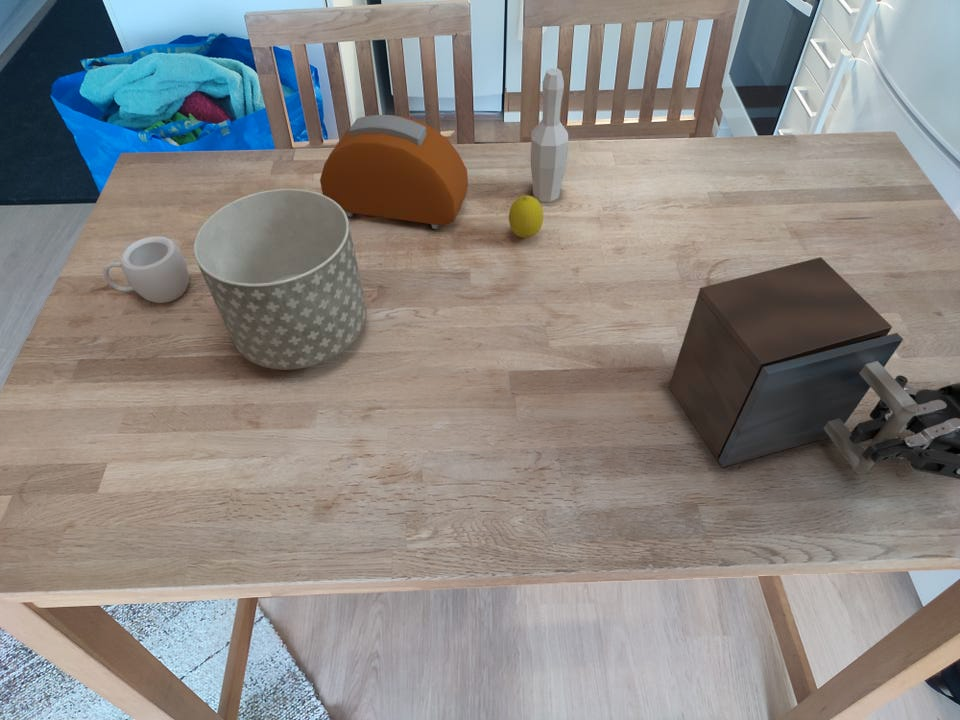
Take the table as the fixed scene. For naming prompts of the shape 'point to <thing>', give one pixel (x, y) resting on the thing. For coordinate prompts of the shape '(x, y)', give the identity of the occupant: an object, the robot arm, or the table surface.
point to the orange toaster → (396, 171)
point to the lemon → (526, 216)
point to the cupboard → (762, 337)
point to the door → (819, 402)
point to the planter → (283, 277)
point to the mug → (152, 269)
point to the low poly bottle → (549, 141)
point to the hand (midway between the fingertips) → (861, 445)
